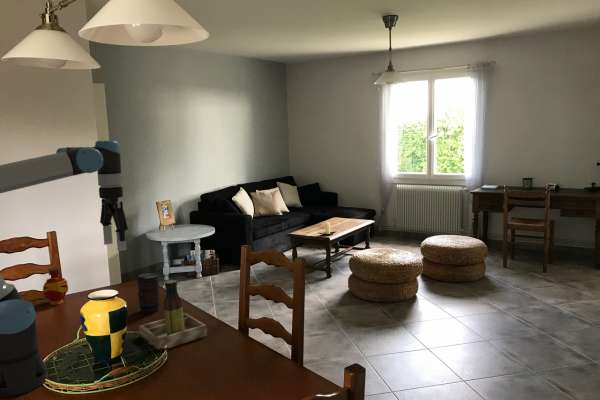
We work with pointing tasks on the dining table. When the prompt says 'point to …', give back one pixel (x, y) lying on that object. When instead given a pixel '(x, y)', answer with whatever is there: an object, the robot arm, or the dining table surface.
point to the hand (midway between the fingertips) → (115, 247)
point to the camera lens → (148, 292)
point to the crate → (158, 328)
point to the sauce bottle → (173, 309)
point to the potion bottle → (55, 287)
